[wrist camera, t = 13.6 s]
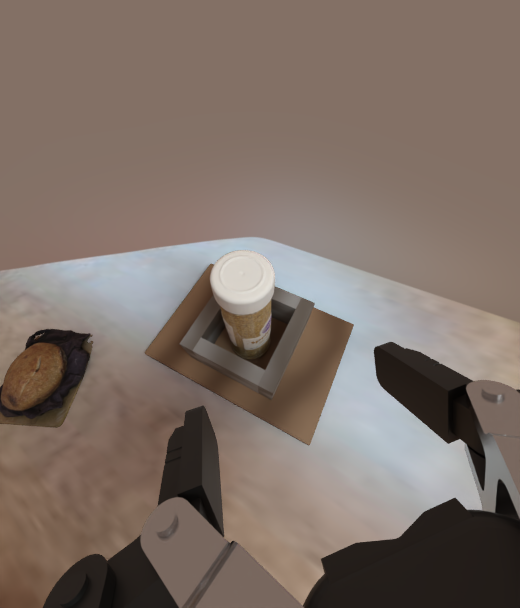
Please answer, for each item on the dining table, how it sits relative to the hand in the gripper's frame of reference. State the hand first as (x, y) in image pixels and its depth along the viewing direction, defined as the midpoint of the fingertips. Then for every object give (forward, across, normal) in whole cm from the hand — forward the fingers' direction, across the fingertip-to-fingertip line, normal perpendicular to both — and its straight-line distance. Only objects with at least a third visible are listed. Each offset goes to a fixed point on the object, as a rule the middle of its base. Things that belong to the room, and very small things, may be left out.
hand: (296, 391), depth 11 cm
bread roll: (+21, +23, +4) cm, 32 cm away
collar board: (+18, 0, +6) cm, 19 cm away
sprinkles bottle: (+18, 0, +5) cm, 18 cm away
